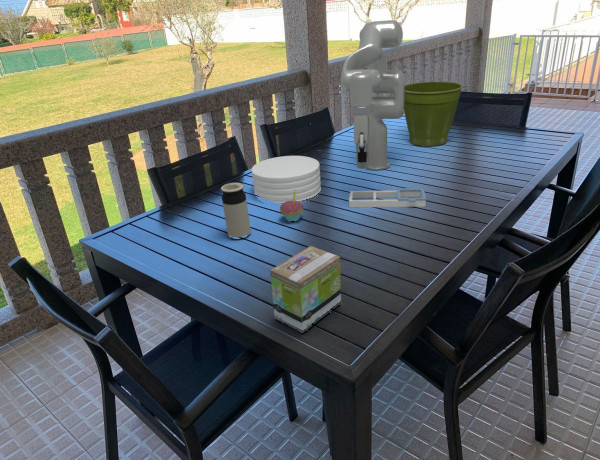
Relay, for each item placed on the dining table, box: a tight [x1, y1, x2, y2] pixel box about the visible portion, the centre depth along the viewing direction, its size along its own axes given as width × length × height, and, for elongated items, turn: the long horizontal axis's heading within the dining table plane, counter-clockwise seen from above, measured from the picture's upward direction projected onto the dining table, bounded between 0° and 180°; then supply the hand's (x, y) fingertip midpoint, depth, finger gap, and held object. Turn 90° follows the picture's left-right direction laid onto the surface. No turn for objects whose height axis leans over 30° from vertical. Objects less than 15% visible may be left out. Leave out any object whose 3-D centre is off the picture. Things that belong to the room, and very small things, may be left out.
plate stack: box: [251, 155, 322, 203], centre depth 185 cm, size 28×28×12 cm
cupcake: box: [279, 191, 304, 222], centre depth 159 cm, size 9×8×12 cm
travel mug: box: [220, 182, 252, 237], centre depth 150 cm, size 8×8×18 cm
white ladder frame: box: [348, 186, 427, 208], centre depth 169 cm, size 13×28×3 cm, turn 81°
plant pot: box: [404, 81, 463, 147], centre depth 229 cm, size 30×30×29 cm
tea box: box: [269, 245, 342, 330], centre depth 108 cm, size 15×10×15 cm, turn 138°
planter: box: [355, 141, 369, 170], centre depth 163 cm, size 4×4×10 cm
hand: (362, 159), depth 164 cm, fingers closed on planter, 4 cm apart
